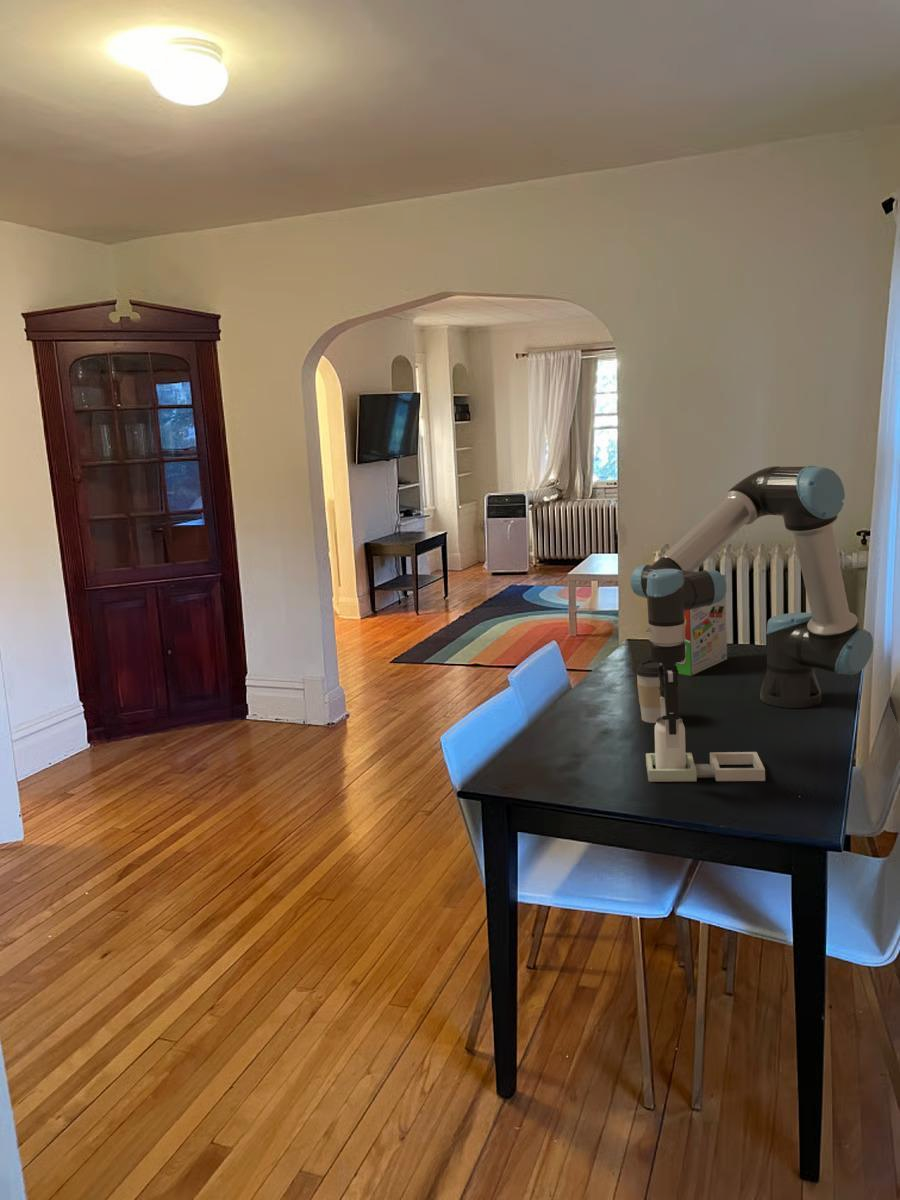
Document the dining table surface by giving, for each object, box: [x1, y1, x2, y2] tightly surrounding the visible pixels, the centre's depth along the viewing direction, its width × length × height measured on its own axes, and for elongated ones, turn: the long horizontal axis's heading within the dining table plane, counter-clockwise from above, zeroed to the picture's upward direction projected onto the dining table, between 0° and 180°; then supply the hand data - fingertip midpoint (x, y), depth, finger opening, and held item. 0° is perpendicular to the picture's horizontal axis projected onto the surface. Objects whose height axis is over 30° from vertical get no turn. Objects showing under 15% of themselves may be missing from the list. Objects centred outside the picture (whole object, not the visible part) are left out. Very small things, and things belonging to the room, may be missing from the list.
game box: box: [675, 574, 728, 677], centre depth 266 cm, size 21×6×27 cm, turn 133°
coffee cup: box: [635, 659, 663, 724], centre depth 225 cm, size 9×9×15 cm
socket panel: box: [645, 751, 766, 783], centre depth 192 cm, size 24×10×2 cm, turn 81°
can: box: [654, 717, 687, 769], centre depth 192 cm, size 6×6×12 cm
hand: (670, 736), depth 191 cm, fingers open, 13 cm apart
